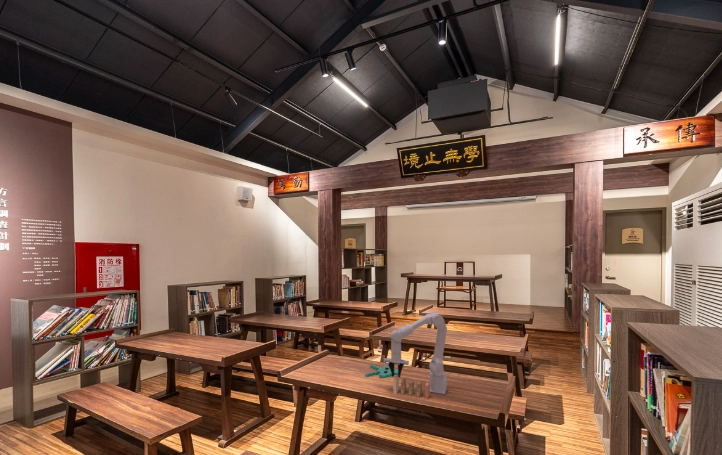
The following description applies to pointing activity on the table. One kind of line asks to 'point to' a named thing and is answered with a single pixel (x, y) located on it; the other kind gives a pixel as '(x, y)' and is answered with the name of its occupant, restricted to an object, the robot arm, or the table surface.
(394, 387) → the white domino
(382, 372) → the alien figure
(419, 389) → the domino
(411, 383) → the domino
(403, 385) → the domino
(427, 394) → the domino
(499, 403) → the table surface
